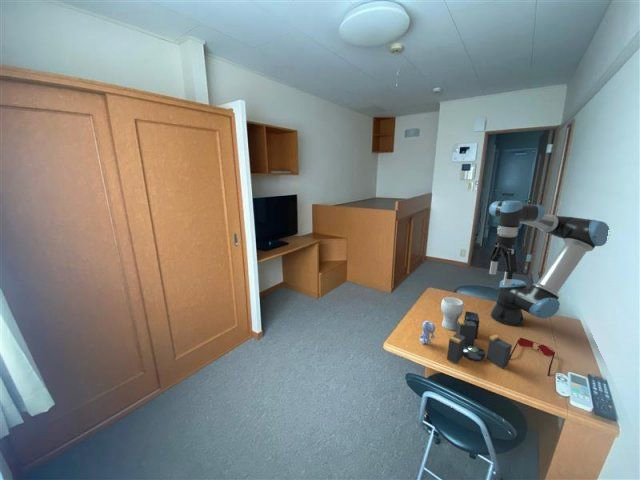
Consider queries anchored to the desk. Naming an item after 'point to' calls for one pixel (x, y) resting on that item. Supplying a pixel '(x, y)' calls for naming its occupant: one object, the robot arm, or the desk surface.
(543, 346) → the glasses
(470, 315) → the box
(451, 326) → the cup
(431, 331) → the toy figurine
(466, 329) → the grey tan block
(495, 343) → the dark grey tan-ended block
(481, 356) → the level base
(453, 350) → the dark grey block
